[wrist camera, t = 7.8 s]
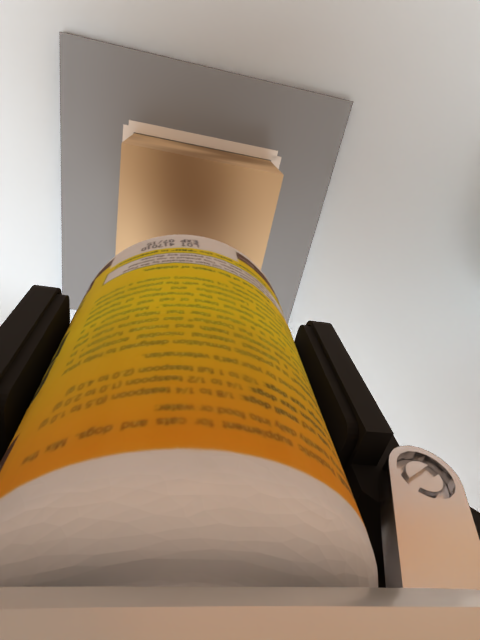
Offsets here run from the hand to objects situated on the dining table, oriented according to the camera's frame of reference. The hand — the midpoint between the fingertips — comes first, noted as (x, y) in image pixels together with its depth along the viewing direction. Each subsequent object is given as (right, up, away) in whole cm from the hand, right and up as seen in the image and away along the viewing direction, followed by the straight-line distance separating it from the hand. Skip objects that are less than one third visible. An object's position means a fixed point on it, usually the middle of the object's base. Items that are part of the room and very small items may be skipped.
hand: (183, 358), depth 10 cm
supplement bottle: (0, +1, +2) cm, 2 cm away
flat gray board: (-1, +7, +13) cm, 15 cm away
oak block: (-1, +7, +12) cm, 14 cm away
